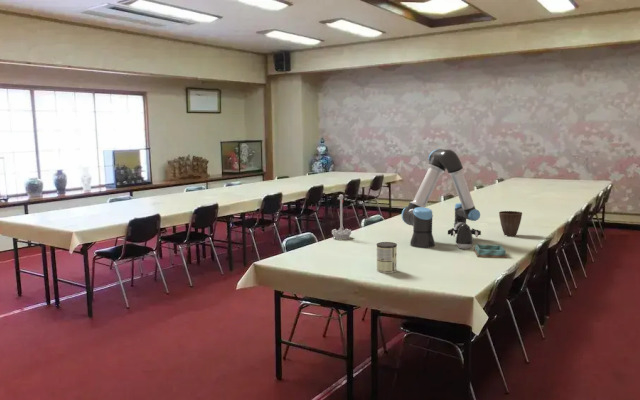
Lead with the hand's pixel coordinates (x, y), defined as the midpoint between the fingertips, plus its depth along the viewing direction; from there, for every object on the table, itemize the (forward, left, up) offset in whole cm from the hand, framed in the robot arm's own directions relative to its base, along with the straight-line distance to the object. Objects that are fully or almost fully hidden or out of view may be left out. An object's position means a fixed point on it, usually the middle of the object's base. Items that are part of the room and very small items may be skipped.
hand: (465, 234), depth 328 cm
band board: (+12, -17, -8) cm, 23 cm away
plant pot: (+34, +44, -8) cm, 56 cm away
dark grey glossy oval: (-1, -2, -8) cm, 8 cm away
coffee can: (-46, -62, -8) cm, 78 cm away
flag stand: (-80, +22, -8) cm, 83 cm away
